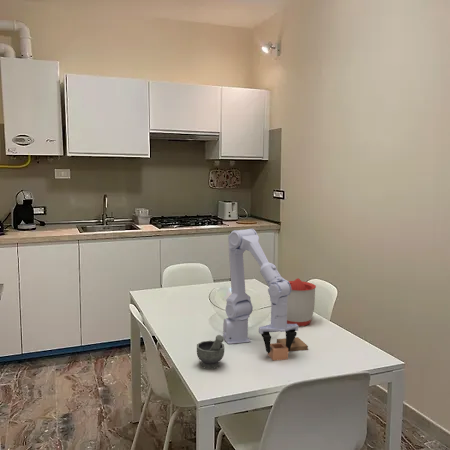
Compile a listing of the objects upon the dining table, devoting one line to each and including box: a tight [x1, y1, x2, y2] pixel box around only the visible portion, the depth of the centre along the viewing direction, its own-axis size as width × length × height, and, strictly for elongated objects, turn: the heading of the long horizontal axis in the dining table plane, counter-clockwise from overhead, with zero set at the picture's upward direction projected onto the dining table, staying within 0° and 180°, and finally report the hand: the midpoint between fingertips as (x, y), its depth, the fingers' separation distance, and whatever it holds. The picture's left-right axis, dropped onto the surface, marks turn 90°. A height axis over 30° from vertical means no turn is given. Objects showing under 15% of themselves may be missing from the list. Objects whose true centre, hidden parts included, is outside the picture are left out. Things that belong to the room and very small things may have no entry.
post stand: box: [276, 336, 309, 353], centre depth 175 cm, size 9×9×6 cm
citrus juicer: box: [287, 277, 317, 327], centre depth 201 cm, size 16×17×20 cm
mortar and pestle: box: [196, 334, 225, 370], centre depth 156 cm, size 11×9×12 cm
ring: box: [267, 342, 289, 361], centre depth 165 cm, size 6×6×4 cm
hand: (277, 350), depth 165 cm, fingers open, 7 cm apart
